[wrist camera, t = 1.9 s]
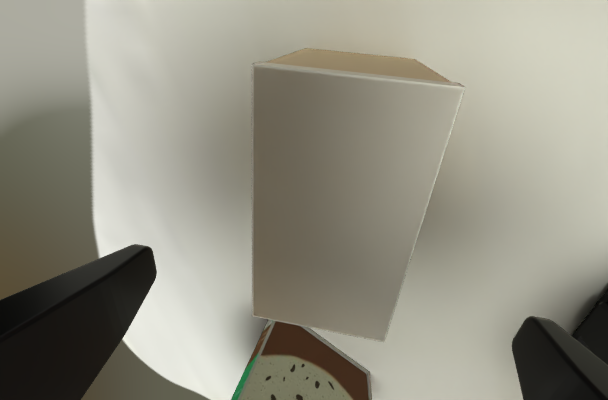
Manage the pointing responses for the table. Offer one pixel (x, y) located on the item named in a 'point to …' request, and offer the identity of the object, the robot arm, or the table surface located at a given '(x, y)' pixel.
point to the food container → (300, 368)
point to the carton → (342, 183)
